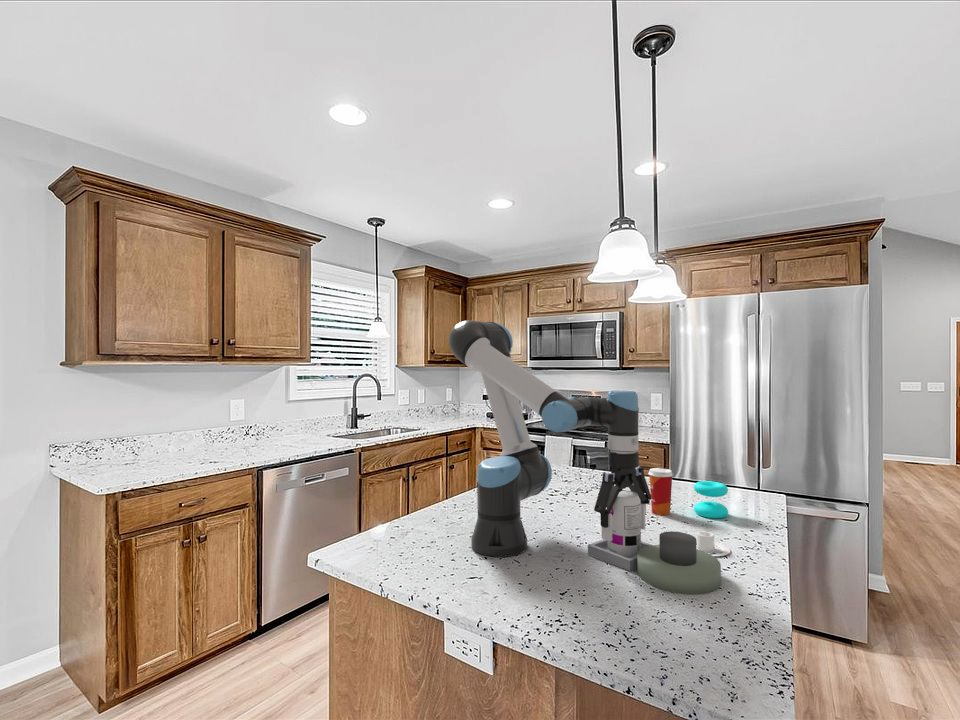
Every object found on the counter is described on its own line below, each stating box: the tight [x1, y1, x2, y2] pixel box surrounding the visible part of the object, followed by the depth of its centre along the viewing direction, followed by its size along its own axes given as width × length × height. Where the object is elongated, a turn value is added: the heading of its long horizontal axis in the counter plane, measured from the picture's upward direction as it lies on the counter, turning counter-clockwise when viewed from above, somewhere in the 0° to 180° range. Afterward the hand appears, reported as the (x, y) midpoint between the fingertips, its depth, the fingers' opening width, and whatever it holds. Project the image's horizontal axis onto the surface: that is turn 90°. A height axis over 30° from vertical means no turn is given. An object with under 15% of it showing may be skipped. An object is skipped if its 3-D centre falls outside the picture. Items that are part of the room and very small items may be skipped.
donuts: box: [693, 480, 729, 519], centre depth 161 cm, size 10×10×10 cm
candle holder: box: [696, 530, 731, 557], centre depth 133 cm, size 12×12×4 cm
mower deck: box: [587, 530, 722, 595], centre depth 121 cm, size 18×30×9 cm, turn 37°
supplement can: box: [608, 489, 642, 557], centre depth 128 cm, size 8×8×15 cm
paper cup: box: [647, 467, 674, 516], centre depth 163 cm, size 8×8×14 cm
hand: (624, 533), depth 128 cm, fingers open, 13 cm apart
